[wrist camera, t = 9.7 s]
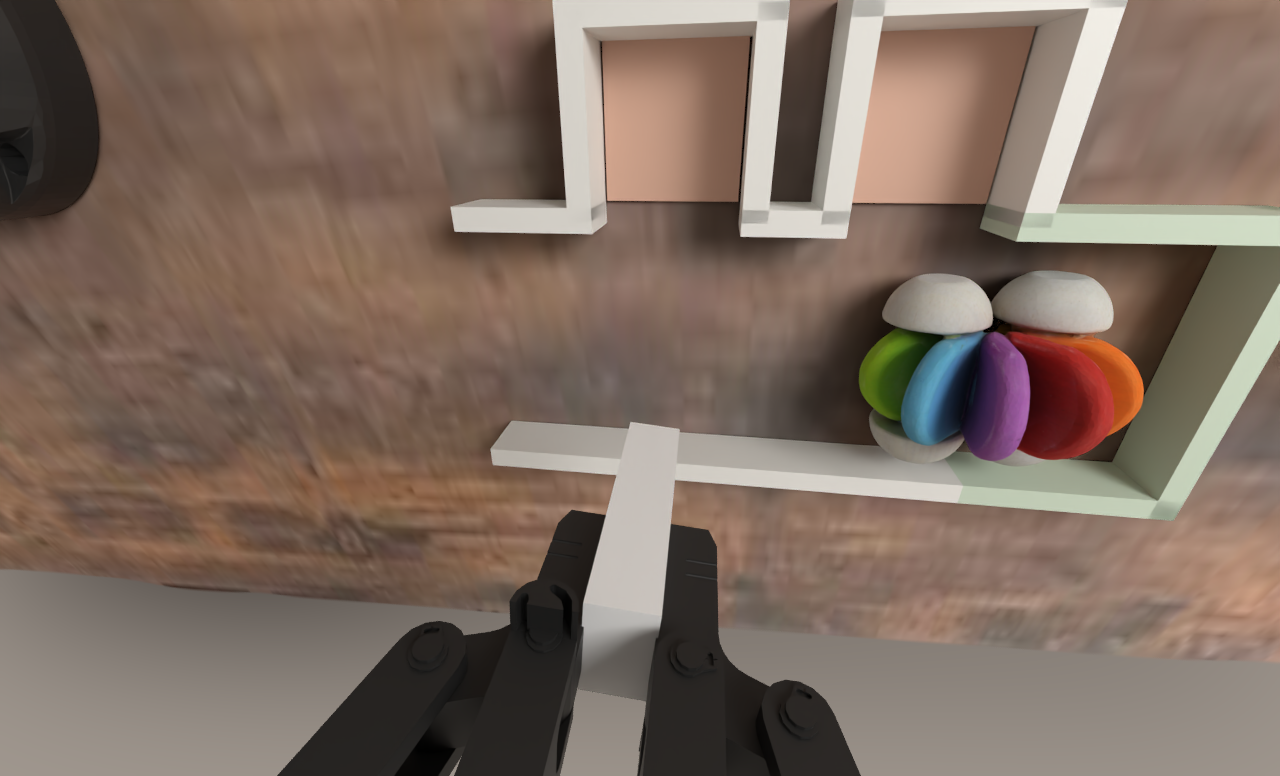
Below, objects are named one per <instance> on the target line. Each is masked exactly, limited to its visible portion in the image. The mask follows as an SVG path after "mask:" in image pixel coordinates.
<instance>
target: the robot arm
mask: <svg viewBox="0 0 1280 776" xmlns="http://www.w3.org/2000/svg"><path fill="white" fill-rule="evenodd" d="M97 151H98V122H97V113H96V107H95V101H94V97H93V92H92V88H91V84H90V81H89V77H88V74H87V71H86V68H85V65H84V62H83V59H82V57H81V54H80V52H79V49H78V47H77V44H76V42H75V40H74V37H73V35H72V33H71V31H70V29H69V27H68V25H67V23H66V21H65V19H64V17H63V15H62V13H61V11H60V9H59V8H58V6H57V4H56V2H55V0H0V220H7V219H16V218H25V217H34V216H42V215H48V214H52V213H55V212H58V211H60V210H62V209H64V208H66V207H68V206H69V205H71V204H72V203H73V202H74V201H75V200H76V199H78V198H79V196H80V195H81V194H82V193H83V191H84V190H85V188H86V187H87V185H88V183H89V181H90V179H91V177H92V174H93V171H94V168H95V163H96V159H97ZM679 431H680V429H675V428H668V427H661V426H655V425H648V424H641V423H634V422H630V426H629V430H628V434H627V437H626V441H625V445H624V449H623V453H622V457H621V460H620V464H619V468H618V472H617V476H616V479H615V483H614V487H613V491H612V495H611V499H610V502H609V506H608V510H607V514H606V515H601V514H595V513H588V512H582V511H575V510H571V511H570V512H569V513H568V514H567V515H566V516H565V517H564V518H563V519H562V520H561V521H560V522H559V523H558V526H557V528H556V531H555V534H554V536H553V540H552V542H551V544H550V547H549V550H548V553H547V555H546V558H545V560H544V563H543V566H542V568H541V571H540V574H539V576H538V579H537V580H535V581H532V582H529V583H527V584H525V585H524V586H522V587H521V588H520V589H518V590H517V591H516V592H515V594H514V595H513V597H512V598H511V600H510V623H511V624H510V625H508V626H506V627H504V628H502V629H499V630H495V631H491V632H486V633H478V634H471V635H463V633H462V631H461V630H460V629H459V628H457V627H456V626H455V625H453V624H451V623H447V622H442V621H436V622H429V623H424V624H422V625H420V626H418V627H415V628H413V629H411V630H410V631H409V632H408V633H407V634H405V635H404V636H403V637H402V638H401V639H400V640H399V641H398V642H397V643H396V644H395V645H394V646H393V647H392V649H391V650H390V651H389V652H388V653H387V654H386V655H385V656H384V657H383V659H382V660H381V661H380V662H379V663H378V664H377V665H376V666H375V668H374V669H373V670H372V671H371V672H370V673H369V674H368V675H367V676H366V677H365V679H364V680H363V681H362V682H361V683H360V684H359V685H358V686H357V688H356V689H355V690H354V691H353V692H352V693H351V694H350V695H349V696H348V698H347V699H346V700H345V701H344V702H343V703H342V704H341V705H340V706H339V708H338V709H337V710H336V711H335V712H334V713H333V714H332V715H331V716H330V718H329V719H328V720H327V721H326V722H325V723H324V724H323V726H321V728H320V729H319V730H318V731H317V732H316V733H315V734H314V735H313V736H312V738H311V739H310V740H309V741H308V742H307V743H306V744H305V745H304V747H303V748H302V749H301V750H300V751H299V752H298V753H297V754H296V755H295V757H294V758H293V759H292V760H291V761H290V762H289V763H288V764H287V765H286V767H285V768H284V769H283V770H282V771H281V772H280V773H279V774H278V775H277V776H449V775H450V774H451V772H452V770H453V769H454V767H455V765H456V764H457V762H458V761H459V759H460V758H461V759H460V762H459V765H458V767H457V770H456V772H455V775H454V776H560V773H561V768H562V764H563V759H564V755H565V751H566V746H567V742H568V737H569V732H570V728H571V724H572V720H573V705H574V700H575V695H576V691H577V687H578V689H580V690H586V691H592V692H597V693H603V694H609V695H614V696H620V697H625V698H631V699H637V700H642V701H646V710H645V717H644V723H643V729H642V735H641V741H640V747H639V751H640V755H639V765H638V774H637V776H861V775H860V773H859V770H858V768H857V766H856V764H855V761H854V759H853V757H852V754H851V752H850V750H849V748H848V745H847V743H846V741H845V738H844V736H843V733H842V731H841V729H840V727H839V724H838V722H837V720H836V717H835V715H834V713H833V711H832V710H831V708H830V707H829V705H828V703H827V702H826V700H825V699H824V698H823V697H822V696H820V694H818V693H817V692H816V691H815V690H814V689H813V688H811V687H809V686H807V685H805V684H803V683H801V682H797V681H790V680H784V681H780V682H777V683H774V684H772V685H771V686H770V687H769V686H767V685H765V684H763V683H761V682H759V681H757V680H755V679H754V678H752V677H750V676H748V675H746V674H745V673H743V672H741V671H740V670H738V669H737V668H736V667H735V666H734V665H733V664H732V663H731V662H730V661H729V660H728V658H727V657H726V655H725V654H724V652H723V650H722V647H721V645H720V642H719V635H718V589H717V546H716V544H715V542H714V540H713V538H712V536H711V534H710V532H709V530H705V529H699V528H692V527H686V526H679V525H673V524H671V515H672V504H673V494H674V483H675V473H676V462H677V452H678V442H679ZM461 756H462V757H461Z"/></svg>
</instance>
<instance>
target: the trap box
mask: <svg viewBox="0 0 1280 776" xmlns="http://www.w3.org/2000/svg"><path fill="white" fill-rule="evenodd" d="M1127 1H1128V0H838V3H837V11H836V18H835V26H834V33H833V41H832V48H831V56H830V63H829V71H828V78H827V86H826V93H825V101H824V108H823V116H822V123H821V131H820V138H819V145H818V153H817V160H816V168H815V175H814V183H813V190H812V198H811V202H770V195H771V185H772V175H773V165H774V155H775V145H776V135H777V125H778V115H779V105H780V95H781V85H782V75H783V65H784V55H785V45H786V35H787V25H788V15H789V5H790V0H553V15H554V29H555V44H556V59H557V73H558V88H559V103H560V117H561V132H562V147H563V161H564V176H565V191H566V200H524V199H480V200H476V201H472V202H468V203H464V204H460V205H456V206H453V207H451V212H452V218H453V225H454V231H455V232H500V233H557V234H593V233H594V232H596V231H597V230H598V229H600V228H601V227H602V226H604V225H605V224H606V223H607V212H606V183H605V155H604V126H603V98H602V70H601V42H602V58H603V88H604V117H605V146H606V175H607V201H704V202H738V195H739V182H740V168H741V154H742V141H743V127H744V114H745V100H746V86H747V73H748V59H749V46H750V37H753V38H752V51H751V65H750V78H749V91H748V105H747V118H746V131H745V144H744V158H743V171H742V184H741V197H740V211H739V224H738V225H739V231H740V237H786V238H843V239H846V236H847V230H848V225H849V219H850V213H851V207H852V203H942V204H986V203H987V204H986V207H985V211H984V214H983V218H982V222H981V225H980V229H983V230H985V231H988V232H991V233H994V234H996V235H999V236H1002V237H1005V238H1008V239H1010V240H1013V241H1016V242H1072V243H1129V244H1187V245H1217V247H1216V250H1215V252H1214V254H1213V256H1212V258H1211V260H1210V262H1209V264H1208V266H1207V268H1206V270H1205V272H1204V274H1203V276H1202V278H1201V280H1200V282H1199V284H1198V287H1197V289H1196V291H1195V293H1194V295H1193V297H1192V299H1191V301H1190V303H1189V305H1188V307H1187V309H1186V311H1185V313H1184V315H1183V317H1182V319H1181V321H1180V324H1179V326H1178V328H1177V330H1176V332H1175V334H1174V336H1173V338H1172V340H1171V342H1170V344H1169V346H1168V348H1167V350H1166V352H1165V354H1164V356H1163V358H1162V361H1161V363H1160V365H1159V367H1158V369H1157V371H1156V373H1155V375H1154V377H1153V379H1152V381H1151V383H1150V385H1149V387H1148V389H1147V391H1146V393H1145V395H1144V397H1143V403H1142V406H1141V408H1140V410H1139V411H1138V413H1137V414H1136V416H1135V417H1134V418H1133V420H1132V422H1131V424H1130V426H1129V428H1128V430H1127V432H1126V434H1125V437H1124V439H1123V441H1122V443H1121V445H1120V447H1119V449H1118V451H1117V453H1116V455H1115V457H1114V459H1113V461H1112V462H1101V461H1087V460H1072V459H1060V460H1045V461H1043V462H1040V463H1038V464H1033V465H1028V466H1007V465H1002V464H999V463H995V462H992V461H987V460H983V459H980V458H978V457H976V456H975V455H973V453H971V452H957V451H955V452H953V453H952V454H951V455H949V456H948V457H946V458H944V459H941V460H939V461H935V462H931V463H924V464H917V463H910V462H906V461H902V460H899V459H897V458H895V457H893V456H892V455H890V454H889V453H887V452H886V451H885V450H883V449H882V448H881V446H870V445H856V444H842V443H827V442H813V441H798V440H784V439H770V438H755V437H741V436H726V435H712V434H697V433H683V432H679V442H678V452H677V462H676V473H675V480H682V481H695V482H707V483H719V484H731V485H743V486H756V487H768V488H780V489H792V490H804V491H816V492H829V493H841V494H853V495H865V496H877V497H890V498H902V499H914V500H926V501H938V502H951V503H963V504H975V505H987V506H999V507H1012V508H1024V509H1036V510H1048V511H1060V512H1072V513H1085V514H1097V515H1109V516H1121V517H1133V518H1146V519H1158V520H1170V521H1174V519H1175V517H1176V516H1177V514H1178V512H1179V510H1180V509H1181V507H1182V505H1183V504H1184V502H1185V500H1186V499H1187V497H1188V495H1189V493H1190V492H1191V490H1192V488H1193V487H1194V485H1195V483H1196V482H1197V480H1198V478H1199V476H1200V475H1201V473H1202V471H1203V470H1204V468H1205V466H1206V465H1207V463H1208V461H1209V459H1210V458H1211V456H1212V454H1213V453H1214V451H1215V449H1216V447H1217V446H1218V444H1219V442H1220V441H1221V439H1222V437H1223V436H1224V434H1225V432H1226V430H1227V429H1228V427H1229V425H1230V424H1231V422H1232V420H1233V419H1234V417H1235V415H1236V413H1237V412H1238V410H1239V408H1240V407H1241V405H1242V403H1243V402H1244V400H1245V398H1246V396H1247V395H1248V393H1249V391H1250V390H1251V388H1252V386H1253V384H1254V383H1255V381H1256V379H1257V378H1258V376H1259V374H1260V373H1261V371H1262V369H1263V367H1264V366H1265V364H1266V362H1267V361H1268V359H1269V357H1270V356H1271V354H1272V352H1273V350H1274V349H1275V347H1276V345H1277V344H1278V342H1279V340H1280V207H1273V206H1250V205H1129V204H1059V202H1060V199H1061V196H1062V193H1063V190H1064V187H1065V184H1066V181H1067V178H1068V175H1069V172H1070V169H1071V166H1072V163H1073V160H1074V157H1075V154H1076V151H1077V149H1078V146H1079V143H1080V140H1081V137H1082V134H1083V131H1084V128H1085V125H1086V122H1087V119H1088V116H1089V113H1090V110H1091V107H1092V104H1093V101H1094V98H1095V95H1096V92H1097V89H1098V87H1099V84H1100V81H1101V78H1102V75H1103V72H1104V69H1105V66H1106V63H1107V60H1108V57H1109V54H1110V51H1111V48H1112V45H1113V42H1114V39H1115V36H1116V33H1117V30H1118V27H1119V25H1120V22H1121V19H1122V16H1123V13H1124V10H1125V7H1126V4H1127ZM1035 27H1036V28H1035ZM1034 31H1035V32H1034ZM1033 34H1034V35H1033ZM1032 38H1033V39H1032ZM1031 41H1032V42H1031ZM1030 45H1031V46H1030ZM1029 49H1030V50H1029ZM1028 52H1029V53H1028ZM1027 56H1028V57H1027ZM1026 59H1027V60H1026ZM1025 63H1026V64H1025ZM1024 67H1025V68H1024ZM1023 70H1024V71H1023ZM1022 74H1023V75H1022ZM1021 77H1022V78H1021ZM1020 81H1021V82H1020ZM1018 88H1019V89H1018ZM1017 92H1018V93H1017ZM1016 95H1017V96H1016ZM1015 99H1016V100H1015ZM1014 102H1015V103H1014ZM1013 106H1014V107H1013ZM1012 110H1013V111H1012ZM1011 113H1012V114H1011ZM1010 117H1011V118H1010ZM1009 120H1010V121H1009ZM1008 124H1009V125H1008ZM1006 131H1007V132H1006ZM1005 135H1006V136H1005ZM1004 138H1005V139H1004ZM1003 142H1004V143H1003ZM1002 145H1003V146H1002ZM1001 149H1002V150H1001ZM1000 153H1001V154H1000ZM999 156H1000V157H999ZM998 160H999V161H998ZM997 163H998V164H997ZM996 167H997V168H996ZM994 174H995V175H994ZM993 178H994V179H993ZM992 181H993V182H992ZM991 185H992V186H991ZM989 192H990V193H989ZM988 196H989V197H988ZM987 199H988V200H987ZM628 430H629V429H625V428H611V427H597V426H582V425H568V424H553V423H539V422H524V421H511V422H510V423H509V425H508V426H507V427H506V429H505V430H504V431H503V433H502V434H501V436H500V437H499V438H498V440H497V441H496V442H495V444H494V445H493V446H492V448H491V449H490V450H491V456H492V462H493V465H500V466H512V467H524V468H536V469H548V470H560V471H573V472H585V473H597V474H609V475H617V472H618V468H619V464H620V460H621V457H622V453H623V449H624V445H625V441H626V437H627V434H628Z"/></svg>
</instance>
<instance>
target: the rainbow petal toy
mask: <svg viewBox="0 0 1280 776" xmlns="http://www.w3.org/2000/svg"><path fill="white" fill-rule="evenodd" d="M993 316H994V317H995V318H997V319H999V320H1003V321H1004V322H1006V323H1009V324H1005V325H1000V326H999V328H998V329H997V330H996V331H995V332H990V333H984V332H983V330H985V329H987V328H989V327H990V326H991V325H992V321H993ZM882 317H883V319H884V320H885V321H886V322H888V323H890V324H892V325H894V326H897V327H899V328H896V329H894V330H893V331H891V332H890V333H889V334H887V335H886V336H884V337H883V338H882V339H881V340H879V341H878V342H877V343H876V344H875V345H874V346H873V347H872V348H871V350H870V351H869V352H868V353H867V355H866V356H865V358H864V360H863V362H862V364H861V367H860V371H859V386H860V390H861V393H862V395H863V397H864V398H865V399H866V401H867V402H868V403H869V404H870V405H871V406H872V407H873V408H874V409H873V410H872V411H871V413H870V416H869V424H870V429H871V432H872V434H873V437H874V438H875V440H876V442H877V443H878V444H879V445H880V446H881V448H882V449H883V450H885V451H886V452H887V453H889V454H890V455H892V456H893V457H895V458H897V459H899V460H902V461H906V462H910V463H917V464H924V463H931V462H935V461H939V460H941V459H944V458H946V457H948V456H949V455H951V454H952V453H953V452H955V451H956V450H957V449H958V448H959V447H960V445H961V444H962V443H963V441H964V439H965V441H966V443H967V445H968V447H969V449H970V451H971V452H972V453H973V455H975V456H976V457H978V458H980V459H983V460H987V461H992V462H995V463H999V464H1002V465H1007V466H1028V465H1033V464H1038V463H1040V462H1043V461H1045V460H1060V459H1068V458H1072V457H1076V456H1079V455H1081V454H1084V453H1086V452H1088V451H1090V450H1091V449H1093V448H1094V447H1095V446H1097V445H1098V444H1099V443H1100V442H1101V441H1102V440H1104V438H1105V437H1106V436H1109V435H1111V434H1113V433H1115V432H1116V431H1118V430H1120V429H1121V428H1122V427H1124V426H1125V425H1127V424H1128V423H1129V422H1130V421H1131V420H1132V419H1133V418H1134V417H1135V416H1136V414H1137V413H1138V411H1139V410H1140V408H1141V406H1142V403H1143V396H1144V388H1143V382H1142V378H1141V376H1140V374H1139V371H1138V369H1137V368H1136V366H1135V364H1134V363H1133V362H1132V361H1131V359H1130V358H1129V357H1128V356H1127V355H1126V354H1124V353H1123V352H1122V351H1120V350H1119V349H1118V348H1116V347H1114V346H1112V345H1111V344H1109V343H1107V342H1105V341H1103V340H1100V339H1097V338H1095V337H1093V336H1094V335H1095V334H1096V333H1099V332H1103V331H1105V330H1107V329H1109V328H1110V327H1111V325H1112V322H1113V306H1112V302H1111V299H1110V297H1109V295H1108V294H1107V292H1106V290H1105V289H1104V288H1103V287H1102V286H1101V285H1100V284H1099V283H1098V282H1097V281H1096V280H1094V279H1093V278H1091V277H1088V276H1086V275H1082V274H1078V273H1071V272H1063V271H1047V270H1046V271H1033V272H1029V273H1027V274H1024V275H1022V276H1019V277H1017V278H1015V279H1014V280H1012V281H1011V282H1009V283H1008V284H1007V285H1005V286H1004V287H1003V288H1002V289H1001V290H1000V291H999V292H998V293H997V295H996V296H995V297H994V299H993V300H992V302H991V304H990V301H989V299H988V297H987V295H986V294H985V292H984V291H983V290H982V289H981V288H980V287H979V286H978V285H977V284H976V283H975V282H973V281H972V280H970V279H968V278H966V277H962V276H958V275H951V274H939V273H938V274H924V275H919V276H916V277H914V278H912V279H910V280H908V281H906V282H905V283H903V284H902V285H901V286H899V287H898V288H897V289H896V290H895V291H894V292H893V293H892V295H891V296H890V297H889V299H888V300H887V302H886V304H885V307H884V309H883V312H882Z"/></svg>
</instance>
